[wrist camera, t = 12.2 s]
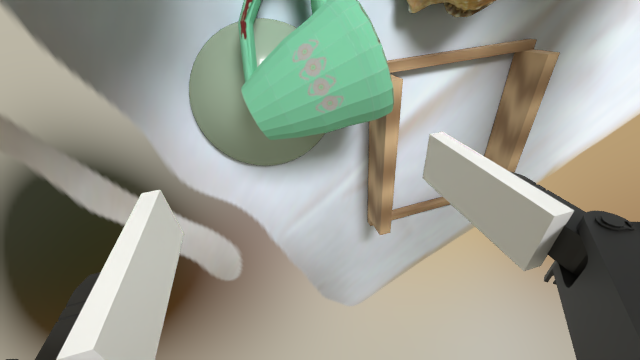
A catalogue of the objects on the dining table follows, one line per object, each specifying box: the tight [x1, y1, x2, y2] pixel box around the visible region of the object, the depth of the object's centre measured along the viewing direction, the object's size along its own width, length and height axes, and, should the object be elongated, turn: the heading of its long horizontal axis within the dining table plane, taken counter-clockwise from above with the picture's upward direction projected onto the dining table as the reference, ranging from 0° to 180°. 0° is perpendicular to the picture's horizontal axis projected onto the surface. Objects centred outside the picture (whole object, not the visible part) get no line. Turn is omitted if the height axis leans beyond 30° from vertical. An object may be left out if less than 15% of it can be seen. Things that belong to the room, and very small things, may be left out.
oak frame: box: [368, 39, 560, 235], centre depth 33 cm, size 22×20×4 cm
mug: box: [238, 0, 394, 140], centre depth 21 cm, size 15×10×10 cm
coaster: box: [189, 18, 325, 166], centre depth 26 cm, size 14×14×1 cm
